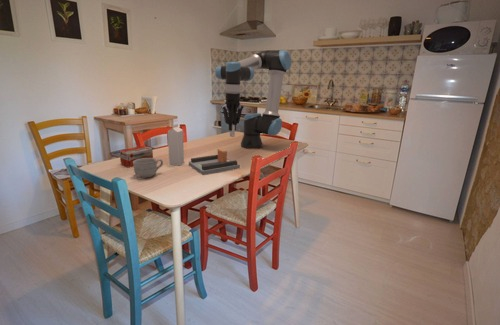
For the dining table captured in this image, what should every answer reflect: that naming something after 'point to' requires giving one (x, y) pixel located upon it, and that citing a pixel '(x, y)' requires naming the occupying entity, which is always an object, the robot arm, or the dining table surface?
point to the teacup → (146, 167)
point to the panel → (198, 167)
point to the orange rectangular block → (222, 155)
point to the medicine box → (135, 155)
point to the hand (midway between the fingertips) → (232, 136)
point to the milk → (175, 146)
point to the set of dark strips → (213, 166)
